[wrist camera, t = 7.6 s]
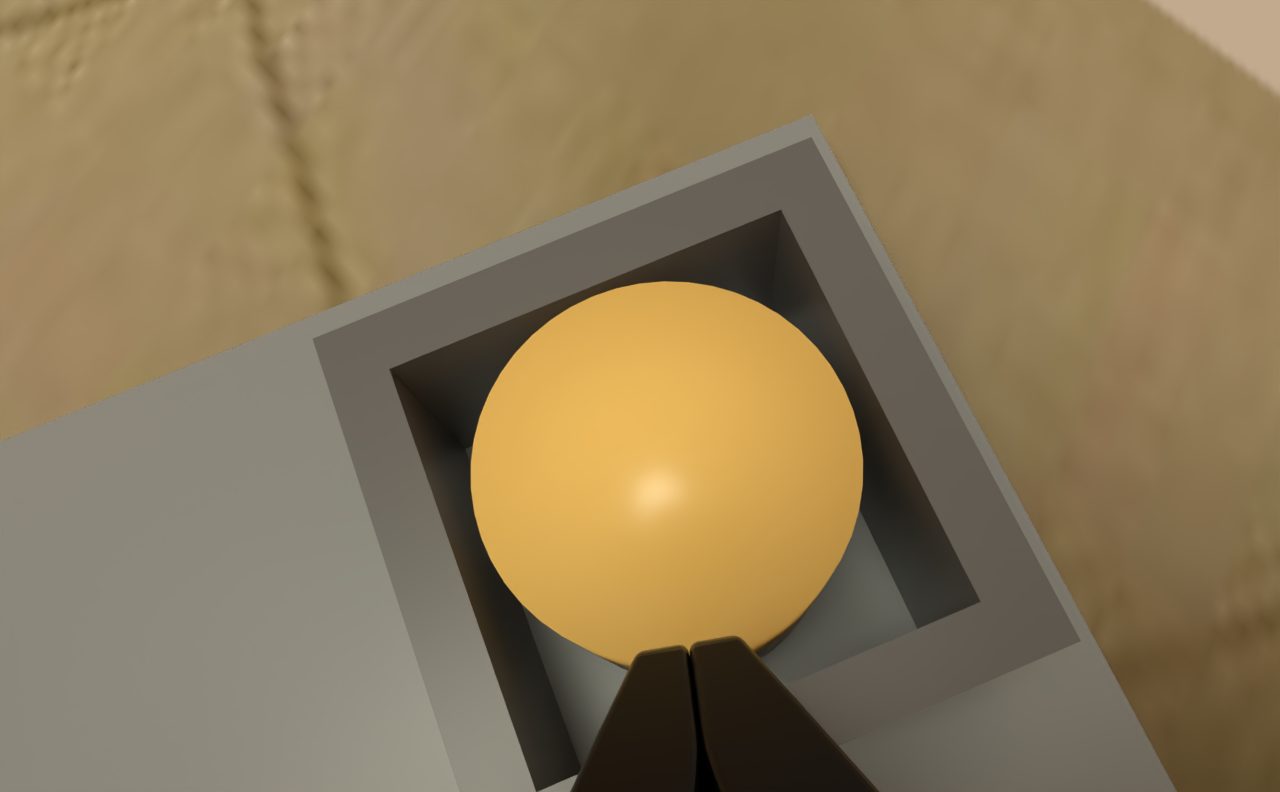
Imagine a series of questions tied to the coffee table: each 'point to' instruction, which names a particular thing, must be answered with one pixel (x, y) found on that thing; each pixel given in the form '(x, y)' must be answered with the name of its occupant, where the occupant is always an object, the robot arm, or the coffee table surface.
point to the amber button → (667, 471)
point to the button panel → (460, 565)
